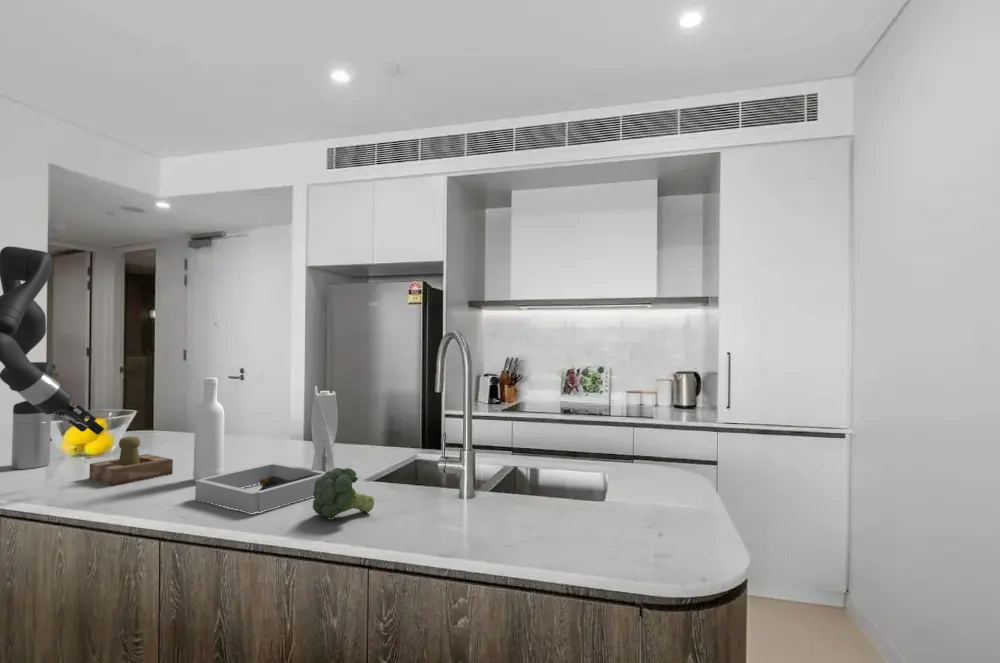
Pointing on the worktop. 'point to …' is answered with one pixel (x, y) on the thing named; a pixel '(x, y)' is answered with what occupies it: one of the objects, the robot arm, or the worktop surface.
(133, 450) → the cork
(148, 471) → the socket block
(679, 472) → the worktop surface
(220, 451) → the bottle
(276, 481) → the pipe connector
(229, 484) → the tray rim
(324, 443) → the skyscraper
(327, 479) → the vegetable
